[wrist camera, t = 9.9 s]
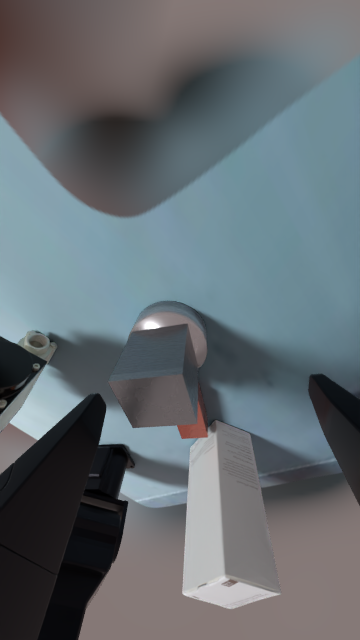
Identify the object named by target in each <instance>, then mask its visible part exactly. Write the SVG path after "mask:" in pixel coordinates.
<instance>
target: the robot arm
mask: <svg viewBox="0 0 360 640" xmlns="http://www.w3.org/2000/svg"><path fill="white" fill-rule="evenodd" d="M308 392H309V396H310V398H311V401H312V404H313V406H314V409H315V412H316V414H317V417H318V420H319V423H320V425H321V428H322V430H323V433H324V435H325V437H326V439H327V442H328V444H329V446H330V448H331V450H332V452H333V454H334V456H335V458H336V460H337V462H338V464H339V466H340V467H341V469H342V471H343V473H344V475H345V477H346V479H347V481H348V483H349V485H350V487H351V489H352V491H353V493H354V495H355V497H356V499H357V501H358V503H359V505H360V400H359V399H358V398H357V397H355V396H354V395H352V394H351V393H349V392H348V391H346V390H345V389H344V388H342V387H341V386H339V385H338V384H336V383H335V382H334V381H332V380H331V379H329V378H328V377H326V376H325V375H323V374H312V375H310V377H309V386H308ZM105 413H106V404H105V402H104V400H103V399H102V397H101V395H100V394H99V393H95V394H90V395H88V396H87V397H86V398H85V399H84V400H83V401H82V402H80V403H79V404H78V405H77V406H76V407H75V408H74V409H73V410H72V411H70V412H69V413H68V414H67V415H66V416H65V417H64V418H63V419H62V420H60V421H59V422H58V423H57V424H56V425H55V426H54V427H53V428H52V429H50V430H49V431H48V432H47V433H46V434H45V435H44V436H43V437H42V438H40V439H39V440H38V441H37V442H36V443H35V444H34V445H33V446H32V447H30V448H29V449H28V450H27V451H26V452H25V453H24V454H23V455H22V456H21V457H19V458H18V459H17V460H16V461H15V463H13V464H11V465H10V466H9V467H8V468H7V469H6V470H5V471H4V472H3V473H1V474H0V640H78V638H79V634H80V630H81V626H82V622H83V618H84V614H85V610H86V608H87V607H88V605H89V604H90V602H91V601H92V599H93V598H94V596H95V595H96V593H97V592H98V590H99V588H100V586H101V585H102V582H103V581H104V579H105V577H106V575H107V573H108V571H109V570H110V567H111V564H112V563H114V561H115V559H116V557H117V554H118V551H119V547H120V544H121V539H122V535H123V529H124V523H125V517H126V512H127V506H128V501H122V500H118V496H119V492H120V489H121V485H122V481H123V478H124V474H125V470H126V468H134V467H135V463H134V462H133V460H132V459H131V457H130V455H129V454H128V452H127V450H126V449H125V447H124V446H123V445H102V446H98V445H99V441H100V437H101V432H102V427H103V423H104V418H105Z"/></svg>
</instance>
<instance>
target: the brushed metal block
mask: <svg viewBox="0 0 360 640" xmlns="http://www.w3.org/2000/svg"><path fill="white" fill-rule="evenodd" d="M108 383H109V385H110V387H111V388H112V390H113V392H114V394H115V396H116V398H117V399H118V401H119V403H120V405H121V407H122V409H123V411H124V412H125V414H126V416H127V418H128V420H129V422H130V423H131V425H132V427H133V428H139V427H156V426H173V425H190V424H197V415H198V363H197V359H196V355H195V351H194V347H193V343H192V339H191V335H190V331H189V327H188V323H186V324H180V325H173V326H166V327H159V328H153V329H146V330H139V331H132V333H131V335H130V337H129V339H128V341H127V343H126V346H125V348H124V350H123V352H122V354H121V356H120V358H119V360H118V362H117V364H116V366H115V368H114V370H113V372H112V374H111V376H110V378H109V381H108Z"/></svg>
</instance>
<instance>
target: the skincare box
mask: <svg viewBox="0 0 360 640" xmlns="http://www.w3.org/2000/svg"><path fill="white" fill-rule="evenodd" d="M183 574H184V575H183V592H182V593H183V594H184V595H185V596H188V597H191V598H195V599H198V600H201V601H205V602H209V603H213V604H216V605H219V606H222V607H225V608H229V609H233V608H236V607H240V606H242V605H245V604H248V603H251V602H254V601H258V600H261V599H265V598H268V597H272V596H276V595H281V589H280V585H279V580H278V574H277V570H276V564H275V559H274V554H273V549H272V544H271V539H270V534H269V530H268V523H267V518H266V513H265V508H264V503H263V498H262V492H261V487H260V482H259V477H258V471H257V466H256V461H255V456H254V451H253V446H252V441H251V435H250V434H249V433H248V432H245V431H243V430H240V429H238V428H235V427H233V426H230V425H228V424H225V423H223V422H220V421H217V420H215V421H214V422H213V423H212V424H211V425H210V426H209V427H208V438H199V439H198V440H197V441H196V442H195V443H194V444H193V445H192V446H191V448H190V462H189V481H188V498H187V519H186V537H185V555H184V573H183Z"/></svg>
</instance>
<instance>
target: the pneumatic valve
mask: <svg viewBox="0 0 360 640" xmlns="http://www.w3.org/2000/svg"><path fill="white" fill-rule="evenodd" d="M56 349H57V344H56V343H54V342H51V343H50V342H49V338H47V337H46V336H45V335H43V334H40V333H36V332H35V331H28V332H27V334H26V336H25V337H24V338H22V339H21V340H20V341H19V342H18V344H15V343H12V342H10V341H8V340H6V339H4V338H2V337H1V336H0V433H1V432H2V430H3V429H4V428H5V427H6V425H7V424H8V423H9V422H10V421H11V419H12V418H13V417H14V416H15V415H16V413H17V412H18V411H19V410H20V408H21V407H22V406H23V404H24V402H25V400H26V399H27V397H28V395H29V393H30V392H31V390H32V388H33V386H34V385H35V383H36V381H37V379H38V378H39V376H40V374H41V372H42V371H43V369H44V367H45V365H47V364H48V363H49V361H50V359H51V357H52V356H53V354H54V352H55V350H56Z"/></svg>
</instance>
